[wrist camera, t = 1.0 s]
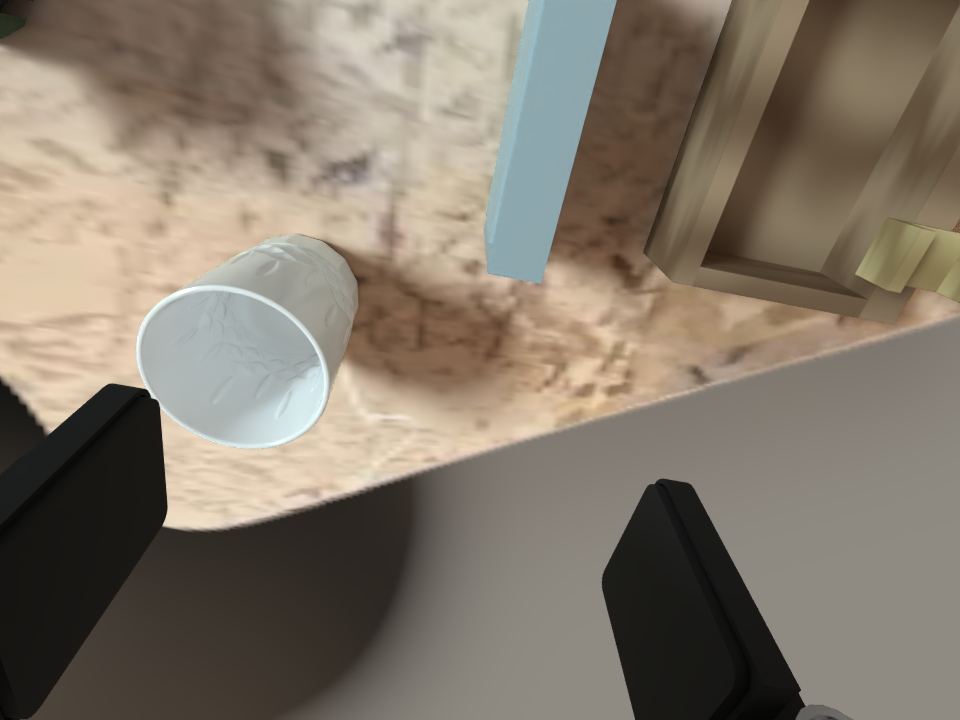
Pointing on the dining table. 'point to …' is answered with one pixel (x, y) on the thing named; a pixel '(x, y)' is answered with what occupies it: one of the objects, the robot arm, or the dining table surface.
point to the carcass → (822, 158)
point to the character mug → (9, 21)
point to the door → (542, 131)
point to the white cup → (252, 343)
